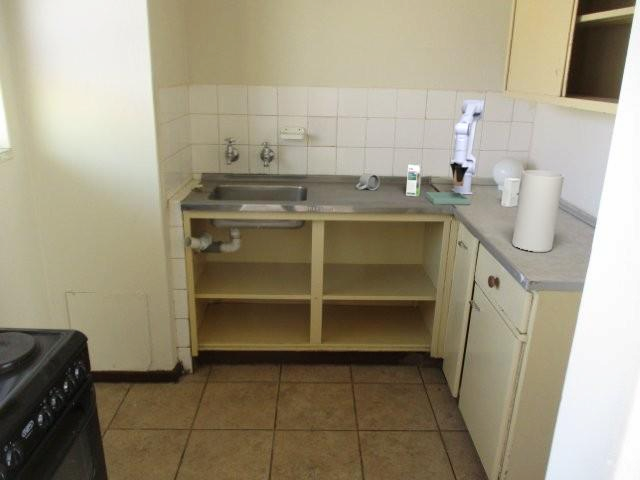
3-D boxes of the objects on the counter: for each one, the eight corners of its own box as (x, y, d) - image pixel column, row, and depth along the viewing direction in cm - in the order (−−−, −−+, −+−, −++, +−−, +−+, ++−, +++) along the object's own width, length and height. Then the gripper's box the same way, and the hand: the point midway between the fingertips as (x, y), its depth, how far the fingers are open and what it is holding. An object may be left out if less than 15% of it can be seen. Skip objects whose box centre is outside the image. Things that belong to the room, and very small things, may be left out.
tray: (425, 197, 244) (426, 192, 243) (459, 197, 245) (459, 192, 244) (433, 204, 230) (434, 199, 230) (469, 205, 231) (469, 199, 231)
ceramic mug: (369, 186, 265) (370, 171, 263) (379, 189, 258) (380, 174, 256) (352, 188, 260) (352, 173, 257) (362, 191, 253) (362, 176, 251)
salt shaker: (451, 183, 238) (453, 168, 236) (460, 184, 238) (463, 168, 236) (454, 185, 234) (457, 170, 231) (464, 186, 234) (467, 170, 232)
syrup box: (405, 195, 247) (407, 164, 242) (407, 193, 252) (410, 163, 247) (417, 196, 245) (420, 166, 240) (419, 194, 250) (422, 164, 246)
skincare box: (508, 207, 229) (512, 180, 225) (500, 205, 233) (503, 178, 229) (517, 205, 232) (521, 179, 229) (509, 203, 236) (512, 177, 232)
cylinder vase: (557, 247, 176) (570, 174, 169) (541, 255, 168) (554, 179, 160) (522, 239, 185) (532, 168, 177) (505, 246, 177) (515, 172, 169)
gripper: (446, 147, 238) (444, 177, 242) (457, 152, 224) (453, 183, 228) (462, 148, 238) (458, 177, 242) (473, 152, 225) (469, 183, 229)
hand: (457, 180), depth 235 cm, fingers closed on salt shaker, 5 cm apart
